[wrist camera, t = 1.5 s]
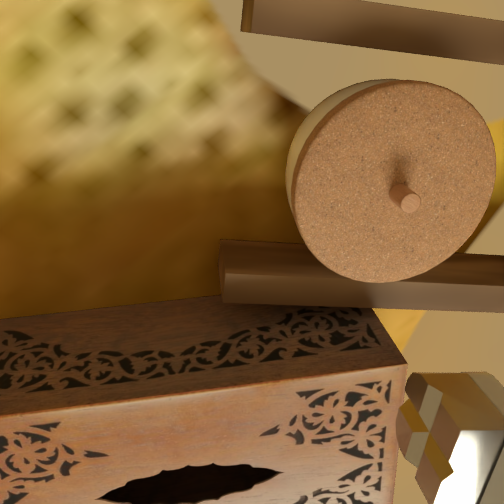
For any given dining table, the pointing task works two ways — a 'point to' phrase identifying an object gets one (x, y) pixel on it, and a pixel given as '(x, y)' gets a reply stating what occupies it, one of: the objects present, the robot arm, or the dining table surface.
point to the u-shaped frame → (298, 255)
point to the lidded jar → (389, 178)
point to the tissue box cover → (199, 405)
